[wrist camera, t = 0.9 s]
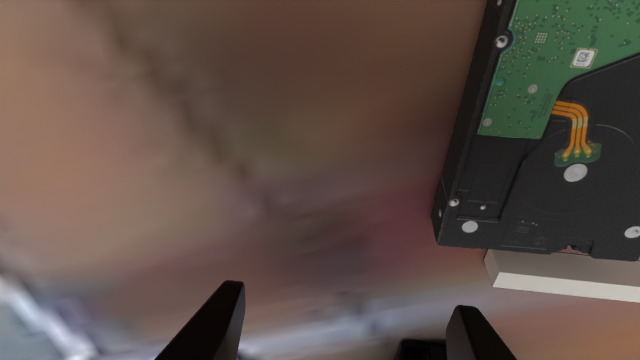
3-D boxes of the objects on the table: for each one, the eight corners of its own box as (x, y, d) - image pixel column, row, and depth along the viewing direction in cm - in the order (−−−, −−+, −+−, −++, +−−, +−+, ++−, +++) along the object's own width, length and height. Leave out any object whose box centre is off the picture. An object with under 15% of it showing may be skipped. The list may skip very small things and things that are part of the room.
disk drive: (615, 225, 23) (808, -90, 15) (642, 263, 21) (889, -80, 12) (427, 213, 24) (502, -100, 15) (434, 249, 22) (527, -93, 13)
